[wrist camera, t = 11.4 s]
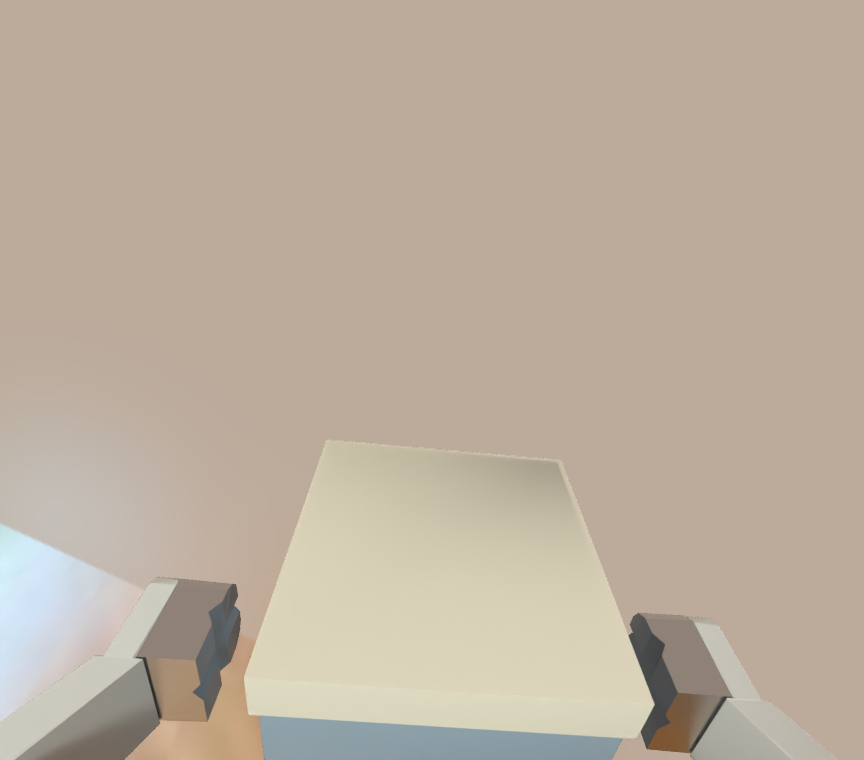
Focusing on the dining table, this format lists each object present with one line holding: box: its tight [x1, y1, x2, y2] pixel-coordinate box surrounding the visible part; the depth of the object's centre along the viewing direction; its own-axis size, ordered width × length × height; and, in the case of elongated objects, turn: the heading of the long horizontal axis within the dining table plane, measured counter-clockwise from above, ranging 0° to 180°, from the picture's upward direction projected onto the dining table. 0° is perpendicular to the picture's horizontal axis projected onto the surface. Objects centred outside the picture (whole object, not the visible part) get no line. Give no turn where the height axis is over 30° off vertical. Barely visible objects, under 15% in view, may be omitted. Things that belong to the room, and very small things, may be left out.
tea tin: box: [244, 440, 655, 760], centre depth 11 cm, size 5×5×10 cm
